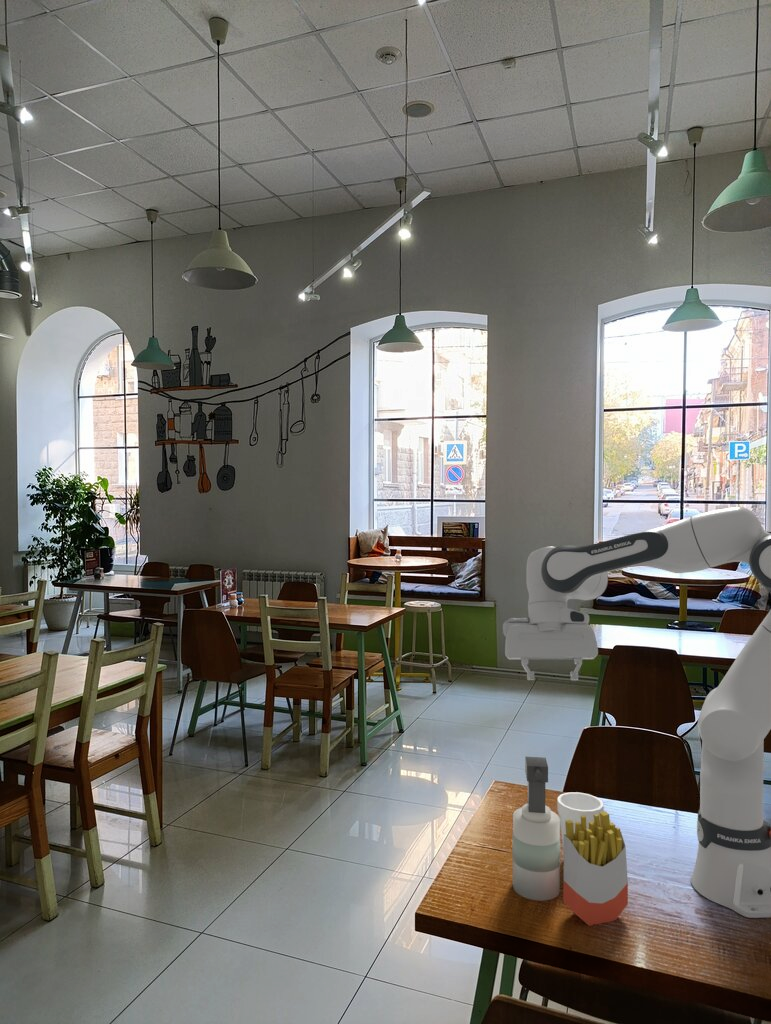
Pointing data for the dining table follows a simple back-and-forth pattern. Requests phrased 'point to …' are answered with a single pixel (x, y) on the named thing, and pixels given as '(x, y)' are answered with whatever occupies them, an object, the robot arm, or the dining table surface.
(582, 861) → the french fries container
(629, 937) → the dining table surface
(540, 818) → the syrup bottle
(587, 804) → the foam cup
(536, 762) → the pump head
